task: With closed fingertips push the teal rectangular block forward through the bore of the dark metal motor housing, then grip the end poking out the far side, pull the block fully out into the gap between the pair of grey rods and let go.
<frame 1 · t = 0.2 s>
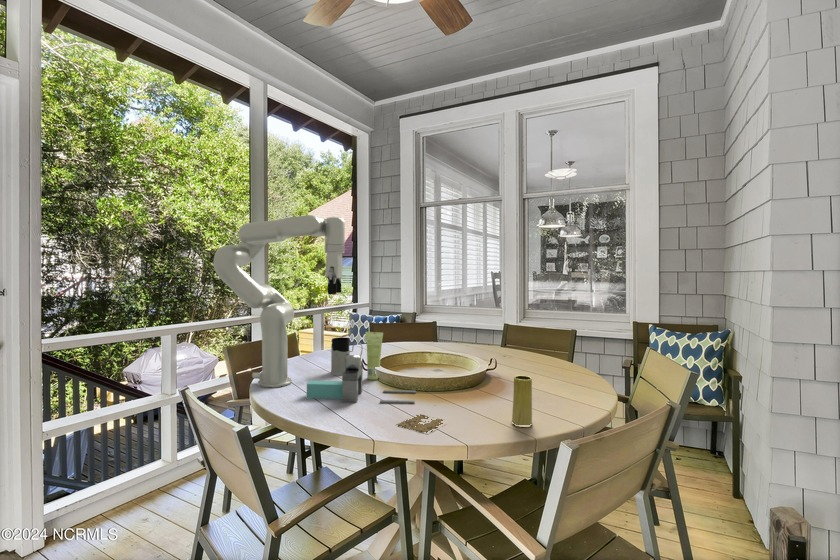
hand: (334, 293, 169), 36 cm above the table, tool pointing down, fingers open, 9 cm apart
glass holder: (346, 373, 189), on the table
pair of grey rods: (398, 397, 155), on the table
teal rectangular block: (331, 396, 156), on the table
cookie: (422, 425, 130), on the table
tube: (373, 379, 181), on the table
housing: (352, 396, 156), on the table
vase: (521, 425, 131), on the table
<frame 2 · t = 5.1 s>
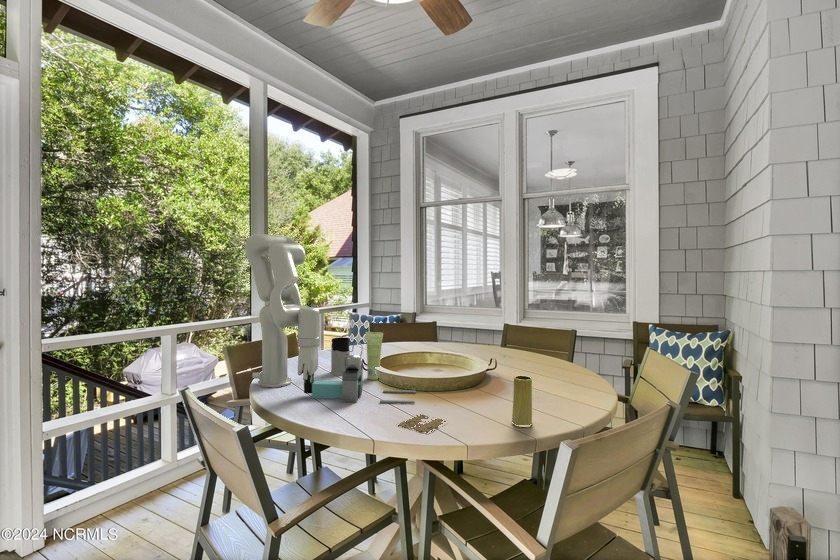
hand: (309, 392, 156), 1 cm above the table, tool pointing down, fingers closed
teal rectangular block: (337, 396, 156), on the table, touching gripper
everything else where it was.
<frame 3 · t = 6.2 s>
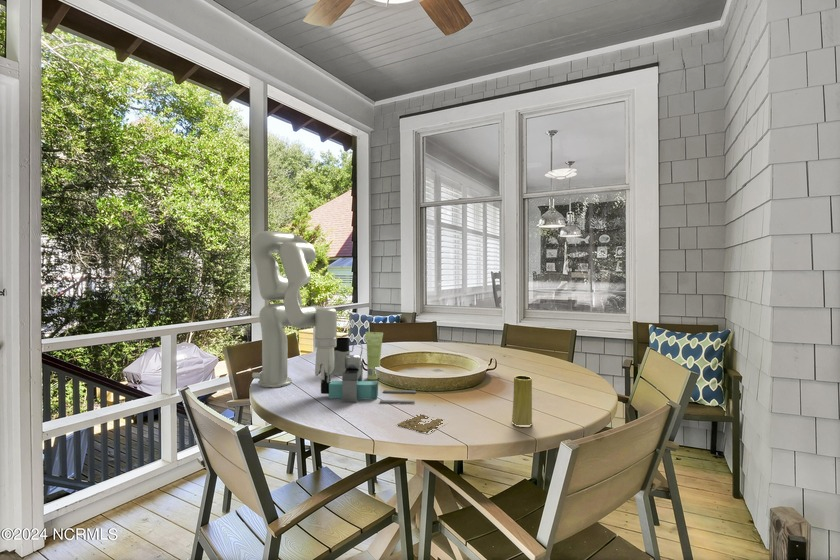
hand: (325, 393, 156), 1 cm above the table, tool pointing down, fingers closed
teal rectangular block: (353, 396, 156), on the table, touching gripper
everything else where it was.
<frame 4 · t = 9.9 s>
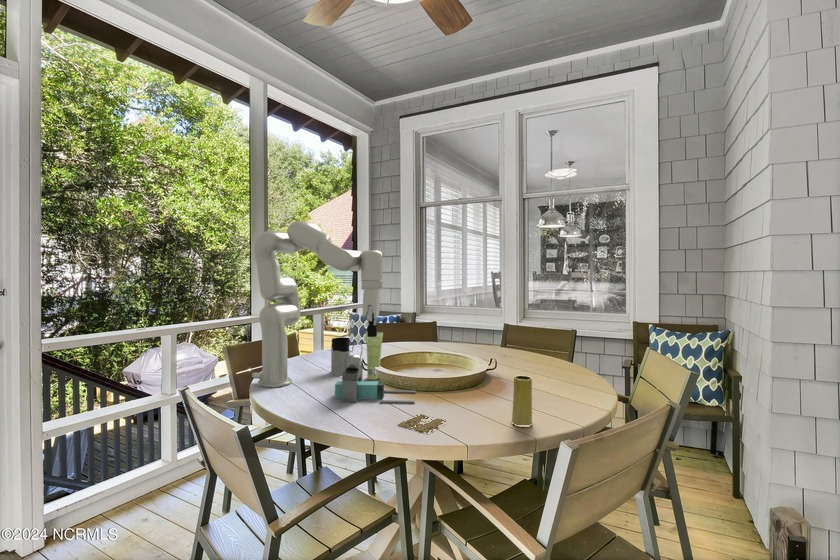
hand: (372, 336, 155), 22 cm above the table, tool pointing down, fingers closed
teal rectangular block: (359, 396, 156), on the table
everything else where it was.
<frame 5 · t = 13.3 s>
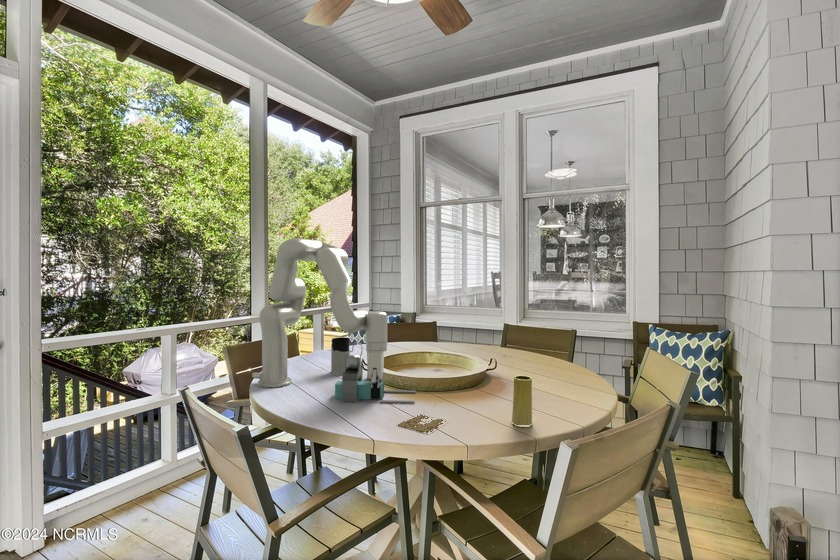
hand: (376, 396, 156), 0 cm above the table, tool pointing down, fingers closed on teal rectangular block, 4 cm apart
teal rectangular block: (359, 396, 156), on the table, touching gripper
everything else where it was.
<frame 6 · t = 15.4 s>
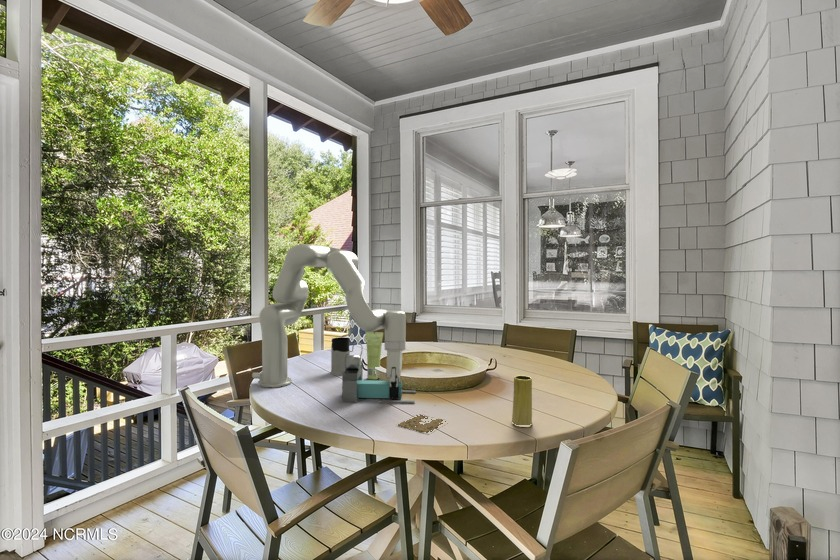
hand: (394, 395, 155), 1 cm above the table, tool pointing down, fingers closed on teal rectangular block, 4 cm apart
teal rectangular block: (377, 396, 156), on the table, touching gripper
everything else where it was.
when the fingers open (1 cm above the table, at t = 17.3 s): teal rectangular block stays where it is, on the table.
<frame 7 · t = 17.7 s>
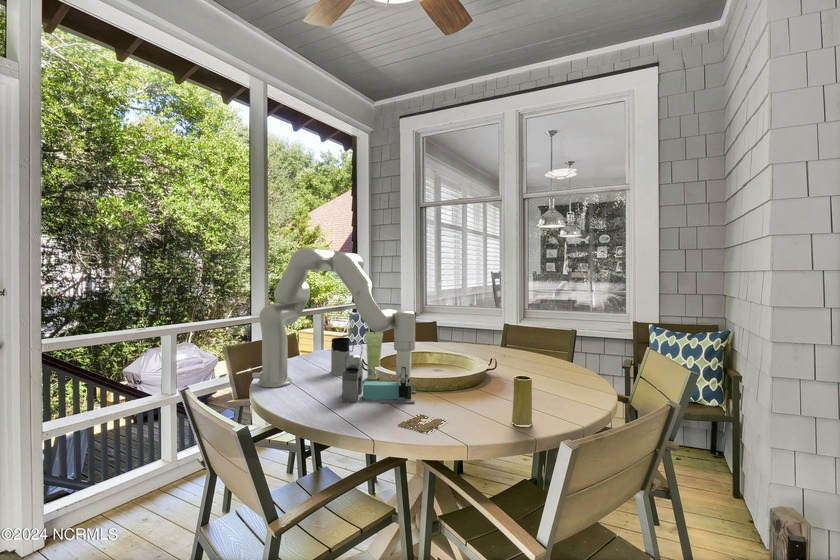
hand: (404, 393, 155), 2 cm above the table, tool pointing down, fingers open, 8 cm apart
teal rectangular block: (387, 397, 156), on the table
everything else where it was.
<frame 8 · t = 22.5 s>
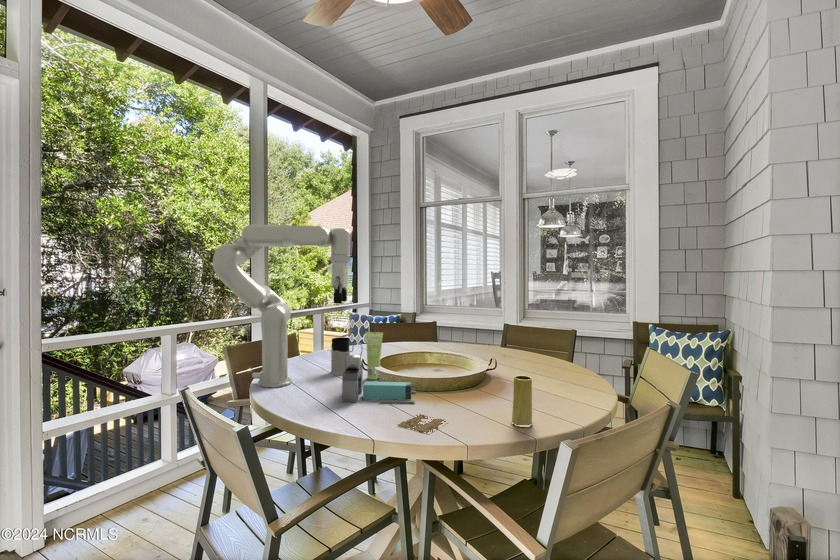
hand: (340, 302, 174), 32 cm above the table, tool pointing down, fingers open, 9 cm apart
nothing on the table moved.
at the end: teal rectangular block inside the target area (1.4 cm from its centre), on the table; teal rectangular block touching table; the gripper is holding nothing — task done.
